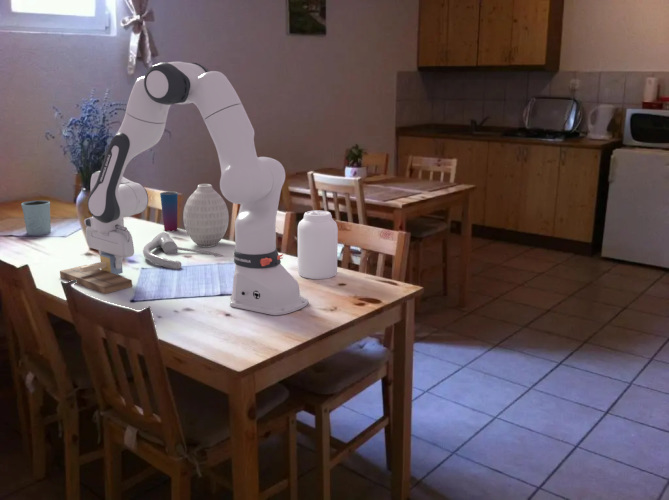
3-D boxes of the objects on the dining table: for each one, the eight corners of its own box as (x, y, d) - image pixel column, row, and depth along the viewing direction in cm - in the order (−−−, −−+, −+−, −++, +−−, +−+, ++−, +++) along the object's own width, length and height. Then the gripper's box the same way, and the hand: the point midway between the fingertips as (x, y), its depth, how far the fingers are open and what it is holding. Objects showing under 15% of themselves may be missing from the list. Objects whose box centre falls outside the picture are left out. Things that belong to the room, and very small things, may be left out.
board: (132, 286, 189) (131, 279, 189) (104, 293, 182) (104, 287, 182) (87, 270, 204) (86, 264, 203) (60, 277, 197) (59, 270, 196)
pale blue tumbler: (26, 236, 245) (22, 205, 242) (23, 231, 253) (20, 201, 250) (54, 234, 250) (51, 203, 247) (51, 228, 258) (48, 199, 255)
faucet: (230, 256, 232) (203, 278, 206) (157, 243, 236) (121, 264, 209) (231, 243, 231) (204, 264, 204) (158, 231, 234) (121, 250, 208)
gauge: (122, 272, 199) (121, 254, 198) (87, 281, 190) (85, 262, 189) (113, 269, 202) (112, 251, 201) (78, 278, 193) (76, 259, 192)
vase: (220, 251, 228) (218, 189, 222) (177, 249, 231) (174, 187, 225) (235, 240, 244) (233, 182, 238) (194, 238, 246) (191, 180, 240)
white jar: (291, 277, 200) (291, 214, 195) (306, 266, 212) (306, 206, 207) (328, 281, 196) (329, 217, 191) (342, 270, 208) (343, 210, 202)
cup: (171, 227, 264) (169, 190, 260) (183, 229, 260) (181, 192, 256) (158, 230, 258) (156, 193, 254) (169, 232, 254) (167, 195, 251)
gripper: (137, 226, 191) (140, 270, 195) (99, 216, 204) (102, 258, 207) (119, 229, 187) (122, 275, 190) (80, 219, 199) (84, 262, 203)
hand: (111, 266), depth 199 cm, fingers closed on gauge, 5 cm apart
